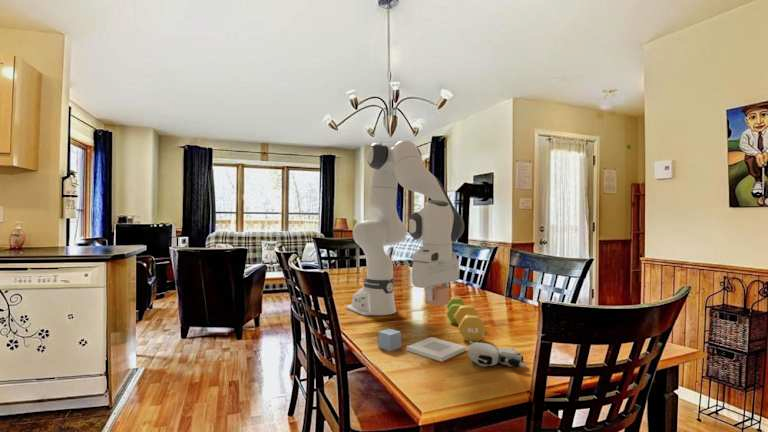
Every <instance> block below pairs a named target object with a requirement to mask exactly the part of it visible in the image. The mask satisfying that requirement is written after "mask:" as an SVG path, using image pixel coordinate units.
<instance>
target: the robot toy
mask: <svg viewBox="0 0 768 432" xmlns="http://www.w3.org/2000/svg"><path fill="white" fill-rule="evenodd" d="M468 342H469V343H470V344H469V346H468V351H467V356H468V357H469V359H470V360H471V361H472V362H474V363H475V364H477V365H478V366H480V367H482V368H487V367H488V366H491V367H492V366H495V365H497V364H498V363H500V364H501V365H502V366H503V365H504V366H507V367H509V368H513V367H515V368H518V369H519V368H525V367H527V364H526V363H525V362H524V357H523V355H522V353H520V351H519V350H516V349H514V348H506V347H501V348H498V349H497V348H496V347H495V346H494V345H492V344H490V343H484V342H479V341H478V342H472V341H468Z"/></svg>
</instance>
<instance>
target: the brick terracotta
mask: <svg viewBox="0 0 768 432" xmlns="http://www.w3.org/2000/svg"><path fill="white" fill-rule="evenodd" d="M449 289H450V288H449V287H442V285H434V286H433V289H432V293H433V294H435V297H434V298H435V299H434V300H432V301H429V300H427V294H426V293H425V305H429V306H433V307H434V306H435V307H438V308H439V307H442V306H447V304H449V300H450V299H449V297H450V295H449Z"/></svg>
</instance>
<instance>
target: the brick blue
mask: <svg viewBox="0 0 768 432" xmlns="http://www.w3.org/2000/svg"><path fill="white" fill-rule="evenodd" d="M377 333H378V338H377V339H378V342H377V343H378V348H379V349H382V350H384V351H387V352H392V351H395V350H396V351H397V350H398V349H400V348H402V331H399V330H396V329H393V328H385V329H383V330H382V329H381V330H380V331H378V332H377Z"/></svg>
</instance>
